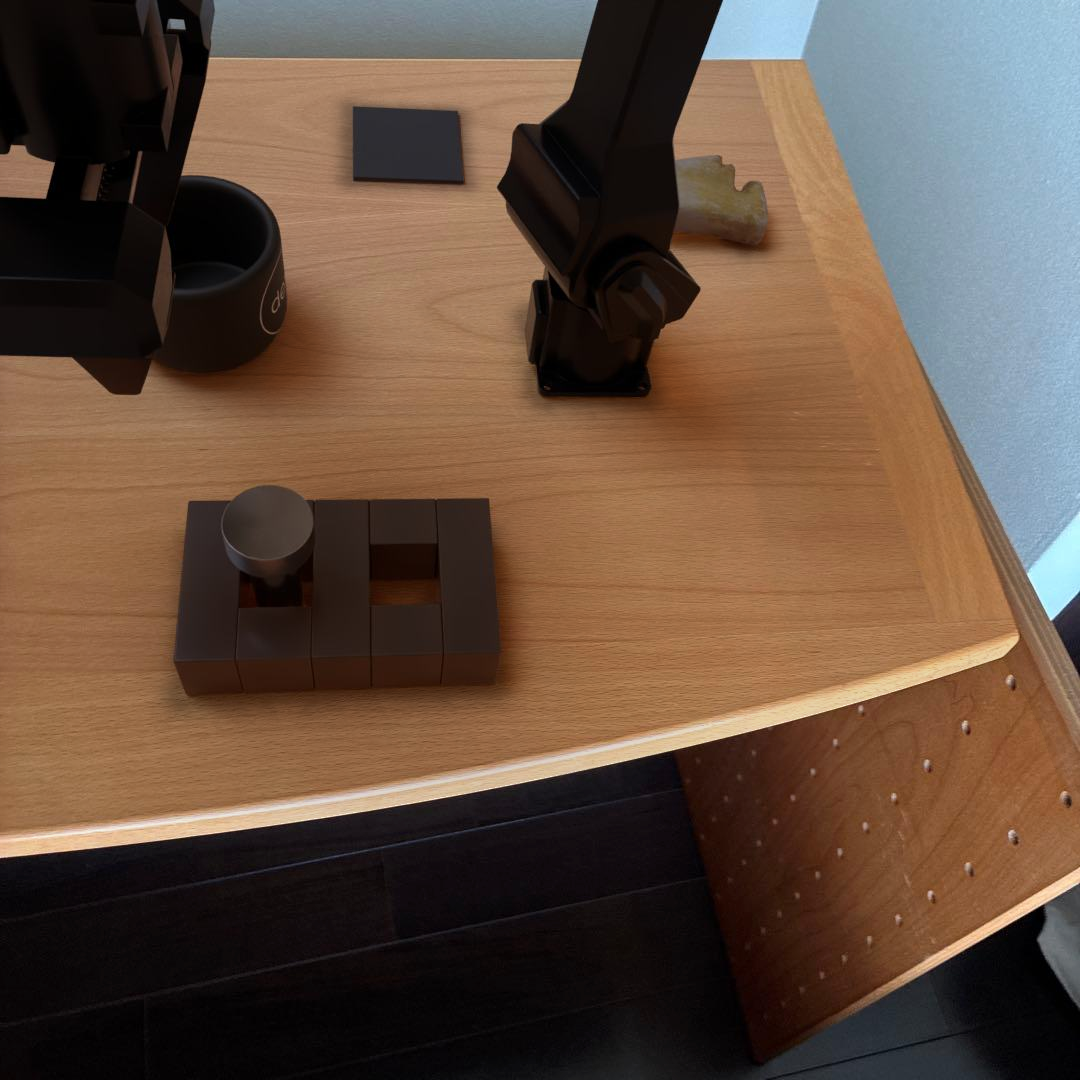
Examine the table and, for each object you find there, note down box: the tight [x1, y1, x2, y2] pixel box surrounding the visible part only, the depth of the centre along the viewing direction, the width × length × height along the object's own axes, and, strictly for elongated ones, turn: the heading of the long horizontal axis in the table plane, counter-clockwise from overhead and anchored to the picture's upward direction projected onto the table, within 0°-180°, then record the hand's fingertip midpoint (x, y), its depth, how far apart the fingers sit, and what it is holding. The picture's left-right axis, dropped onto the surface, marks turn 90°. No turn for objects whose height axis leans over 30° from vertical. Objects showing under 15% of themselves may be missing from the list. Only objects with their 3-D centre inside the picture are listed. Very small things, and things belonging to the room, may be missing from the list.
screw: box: [221, 484, 315, 607], centre depth 50 cm, size 4×4×8 cm
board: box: [172, 497, 502, 696], centre depth 52 cm, size 14×8×4 cm, turn 95°
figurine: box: [674, 154, 769, 246], centre depth 69 cm, size 5×5×15 cm
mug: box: [152, 174, 288, 375], centre depth 59 cm, size 12×9×7 cm
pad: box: [352, 105, 465, 185], centre depth 72 cm, size 7×7×1 cm
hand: (141, 303), depth 45 cm, fingers open, 9 cm apart
